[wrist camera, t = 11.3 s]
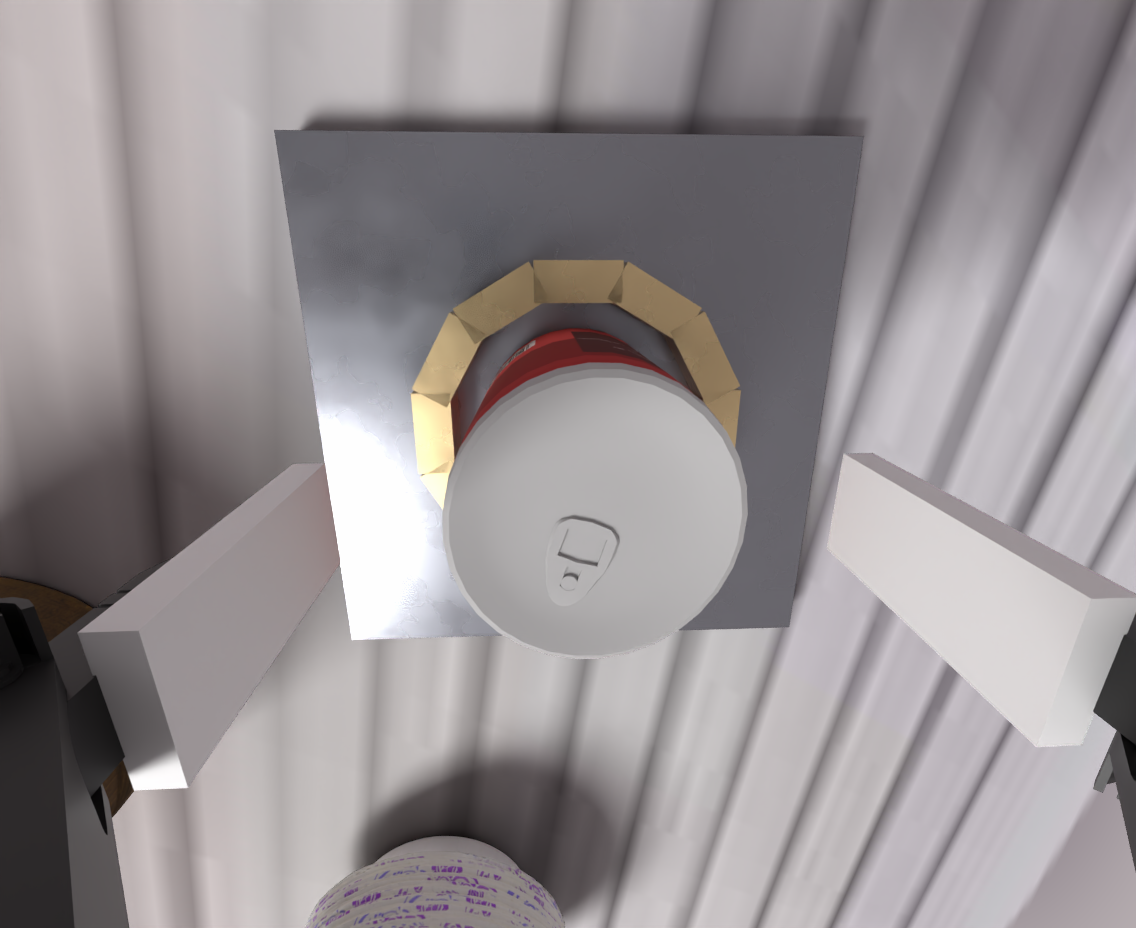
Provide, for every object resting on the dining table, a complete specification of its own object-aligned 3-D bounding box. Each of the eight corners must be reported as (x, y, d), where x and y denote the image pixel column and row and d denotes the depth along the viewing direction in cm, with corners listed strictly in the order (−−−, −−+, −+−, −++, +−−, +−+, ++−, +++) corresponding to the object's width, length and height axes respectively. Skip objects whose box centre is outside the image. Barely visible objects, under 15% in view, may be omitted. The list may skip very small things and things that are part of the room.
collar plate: (361, 621, 28) (337, 667, 25) (292, 140, 21) (245, 113, 18) (777, 610, 29) (807, 652, 26) (842, 145, 22) (896, 121, 19)
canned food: (483, 500, 25) (440, 661, 14) (485, 319, 22) (435, 356, 12) (649, 506, 25) (724, 666, 15) (669, 330, 23) (778, 374, 12)
